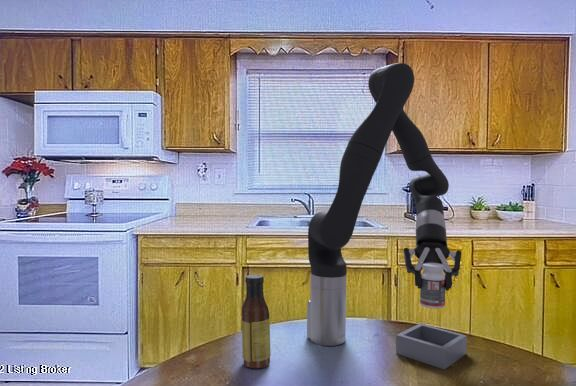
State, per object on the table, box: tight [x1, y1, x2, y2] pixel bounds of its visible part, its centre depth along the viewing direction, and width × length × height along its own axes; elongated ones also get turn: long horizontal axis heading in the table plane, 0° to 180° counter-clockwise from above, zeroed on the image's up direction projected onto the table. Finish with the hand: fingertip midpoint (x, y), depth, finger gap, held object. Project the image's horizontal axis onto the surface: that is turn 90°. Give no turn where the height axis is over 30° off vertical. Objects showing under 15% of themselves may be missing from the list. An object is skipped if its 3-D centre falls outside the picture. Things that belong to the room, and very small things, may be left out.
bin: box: [395, 322, 468, 370], centre depth 102 cm, size 12×12×4 cm
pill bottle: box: [419, 263, 446, 310], centre depth 102 cm, size 6×6×10 cm
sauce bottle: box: [241, 273, 271, 370], centre depth 95 cm, size 6×6×20 cm
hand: (433, 287), depth 100 cm, fingers closed on pill bottle, 5 cm apart
